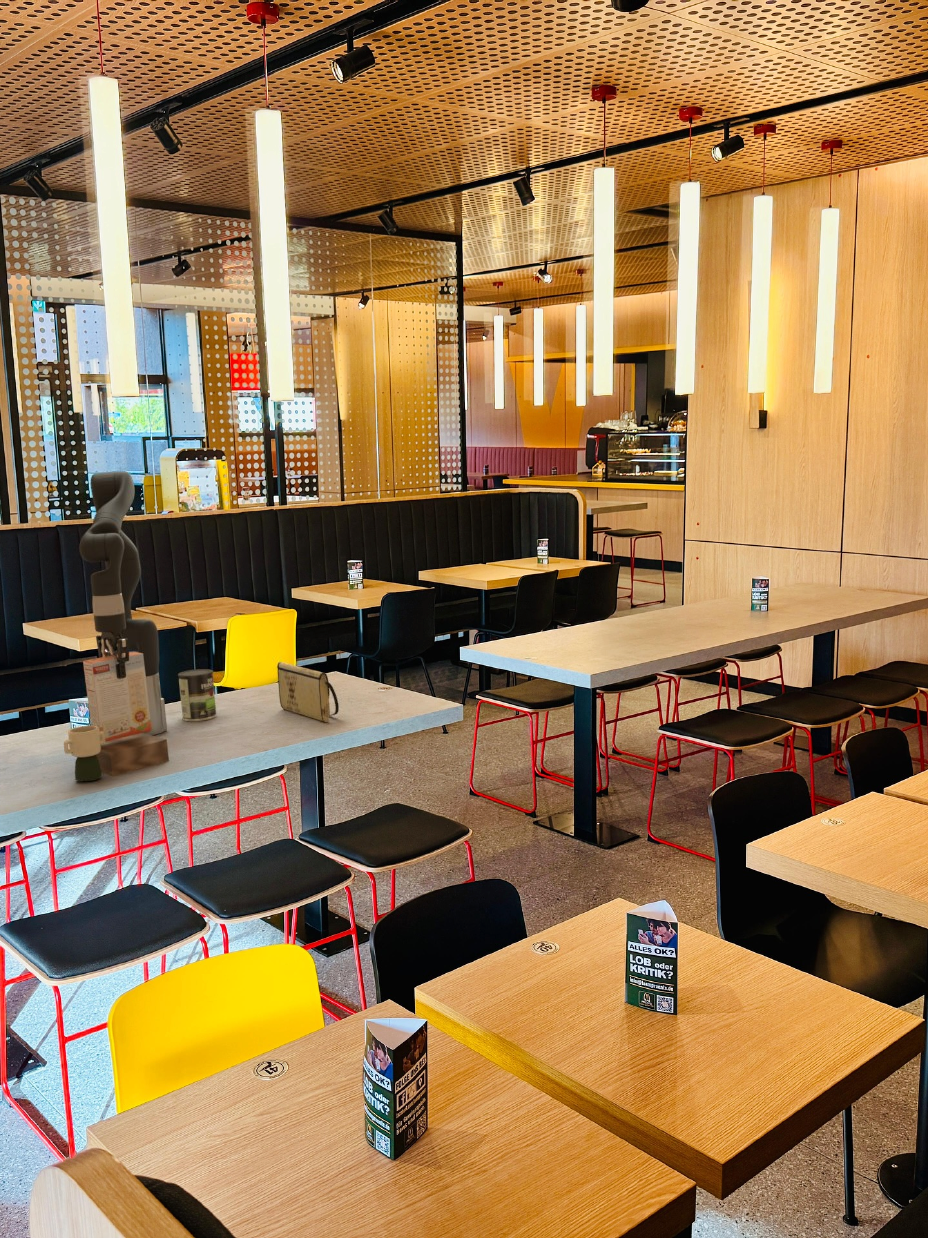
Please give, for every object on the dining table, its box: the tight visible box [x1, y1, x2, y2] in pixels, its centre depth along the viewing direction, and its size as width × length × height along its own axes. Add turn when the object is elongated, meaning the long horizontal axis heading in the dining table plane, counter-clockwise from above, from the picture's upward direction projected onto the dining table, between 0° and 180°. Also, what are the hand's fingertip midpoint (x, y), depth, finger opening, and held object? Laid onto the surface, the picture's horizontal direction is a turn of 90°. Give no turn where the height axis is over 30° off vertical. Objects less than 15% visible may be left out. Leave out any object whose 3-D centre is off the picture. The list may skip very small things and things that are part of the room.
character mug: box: [63, 725, 105, 782], centre depth 255 cm, size 11×7×13 cm, turn 141°
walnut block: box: [96, 733, 170, 777], centre depth 269 cm, size 16×16×6 cm
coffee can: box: [177, 668, 218, 722], centre depth 315 cm, size 10×10×14 cm
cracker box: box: [82, 651, 152, 742], centre depth 267 cm, size 14×6×21 cm, turn 134°
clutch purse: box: [276, 661, 340, 724], centre depth 311 cm, size 30×7×15 cm, turn 38°
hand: (115, 676), depth 266 cm, fingers closed on cracker box, 6 cm apart
